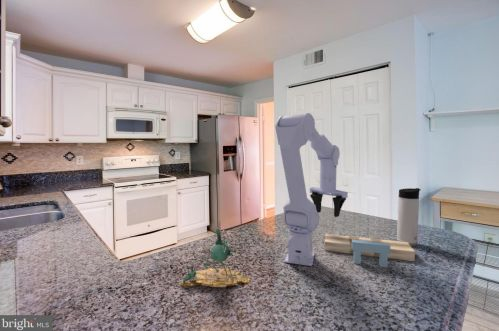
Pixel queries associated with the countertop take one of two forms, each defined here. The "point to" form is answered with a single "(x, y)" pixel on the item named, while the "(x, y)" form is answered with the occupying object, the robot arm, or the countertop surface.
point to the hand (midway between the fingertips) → (327, 214)
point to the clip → (371, 250)
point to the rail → (345, 246)
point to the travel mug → (408, 215)
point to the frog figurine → (213, 275)
